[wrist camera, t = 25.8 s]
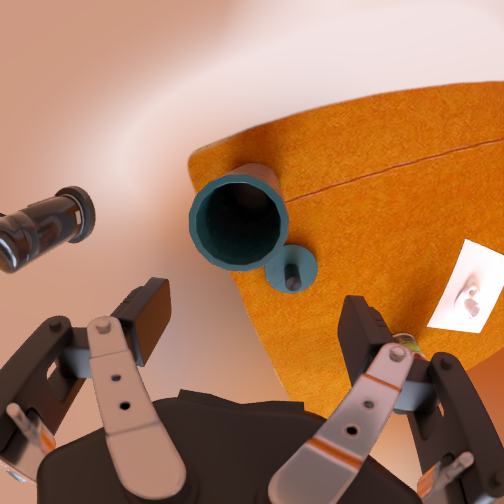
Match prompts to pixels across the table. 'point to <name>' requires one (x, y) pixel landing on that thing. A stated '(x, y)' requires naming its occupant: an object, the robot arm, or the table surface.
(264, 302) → the table surface
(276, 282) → the lid
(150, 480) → the robot arm
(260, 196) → the block
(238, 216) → the tin
